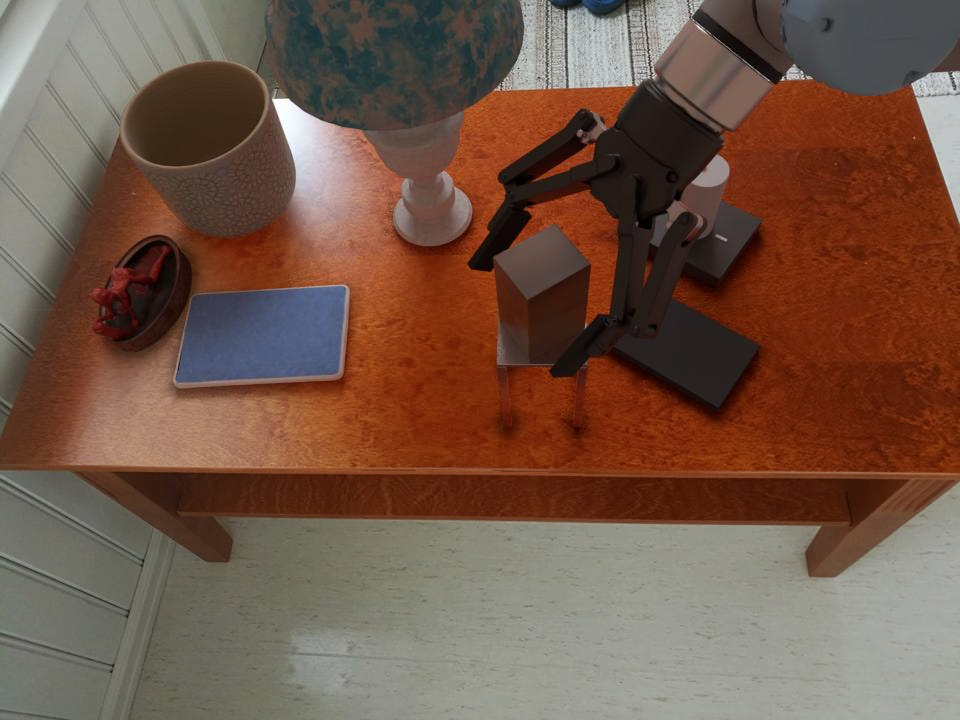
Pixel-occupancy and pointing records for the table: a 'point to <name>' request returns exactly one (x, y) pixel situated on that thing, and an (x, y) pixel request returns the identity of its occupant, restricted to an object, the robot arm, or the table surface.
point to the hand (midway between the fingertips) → (517, 318)
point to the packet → (542, 291)
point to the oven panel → (714, 243)
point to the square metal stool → (515, 358)
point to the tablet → (264, 337)
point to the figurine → (143, 294)
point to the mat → (692, 354)
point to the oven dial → (707, 191)
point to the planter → (211, 147)
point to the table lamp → (399, 85)
